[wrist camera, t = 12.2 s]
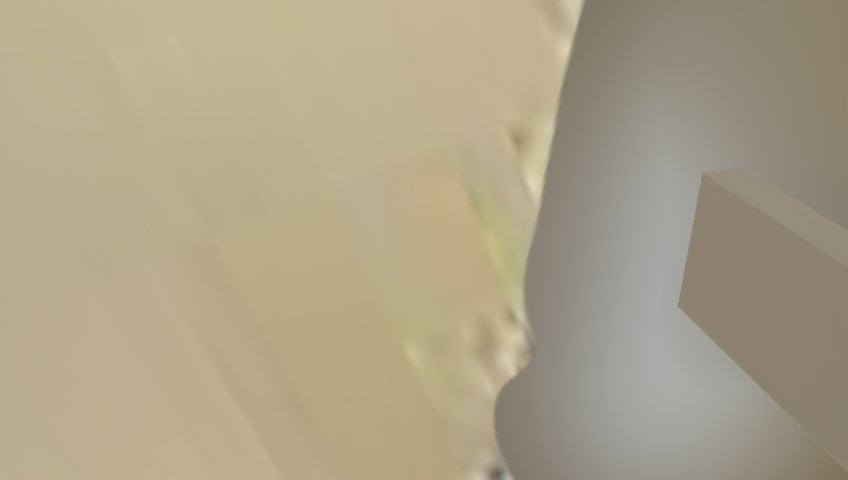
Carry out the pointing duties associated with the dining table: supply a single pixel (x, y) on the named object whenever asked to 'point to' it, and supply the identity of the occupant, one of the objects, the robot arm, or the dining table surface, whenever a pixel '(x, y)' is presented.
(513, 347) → the dining table surface
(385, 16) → the dining table surface
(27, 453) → the dining table surface
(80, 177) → the dining table surface
